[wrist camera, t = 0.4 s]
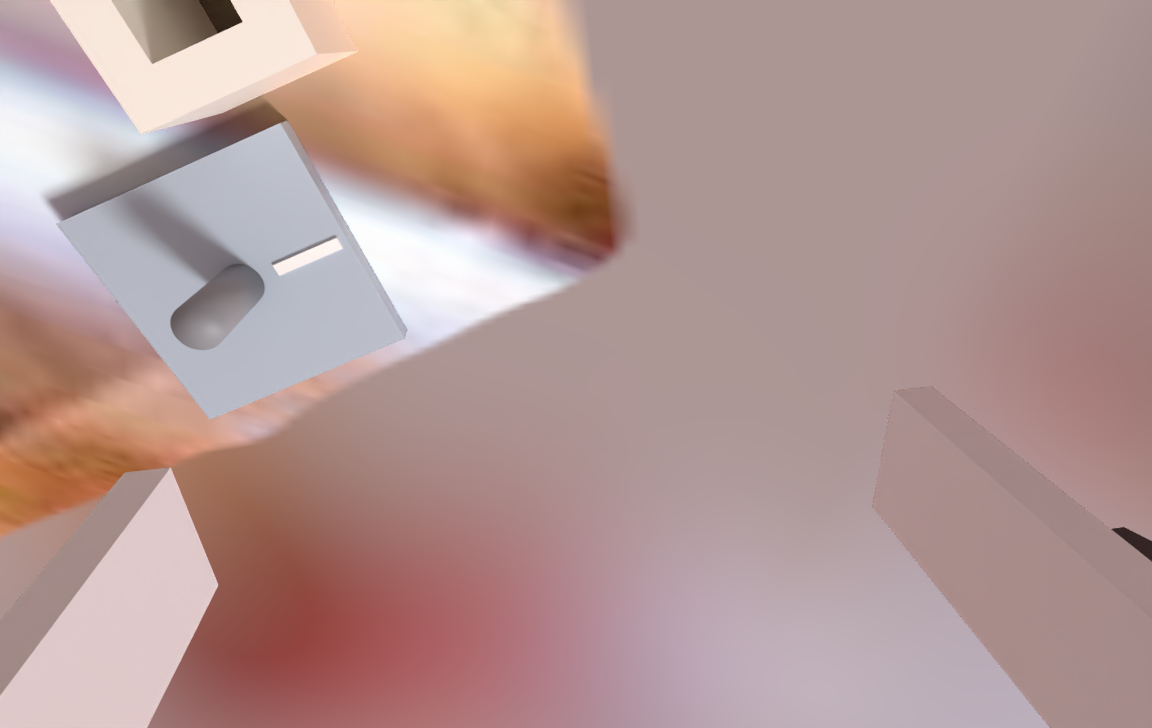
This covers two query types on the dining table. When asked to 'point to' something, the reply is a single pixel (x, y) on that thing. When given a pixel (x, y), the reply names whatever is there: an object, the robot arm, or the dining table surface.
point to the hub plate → (239, 230)
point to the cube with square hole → (202, 52)
